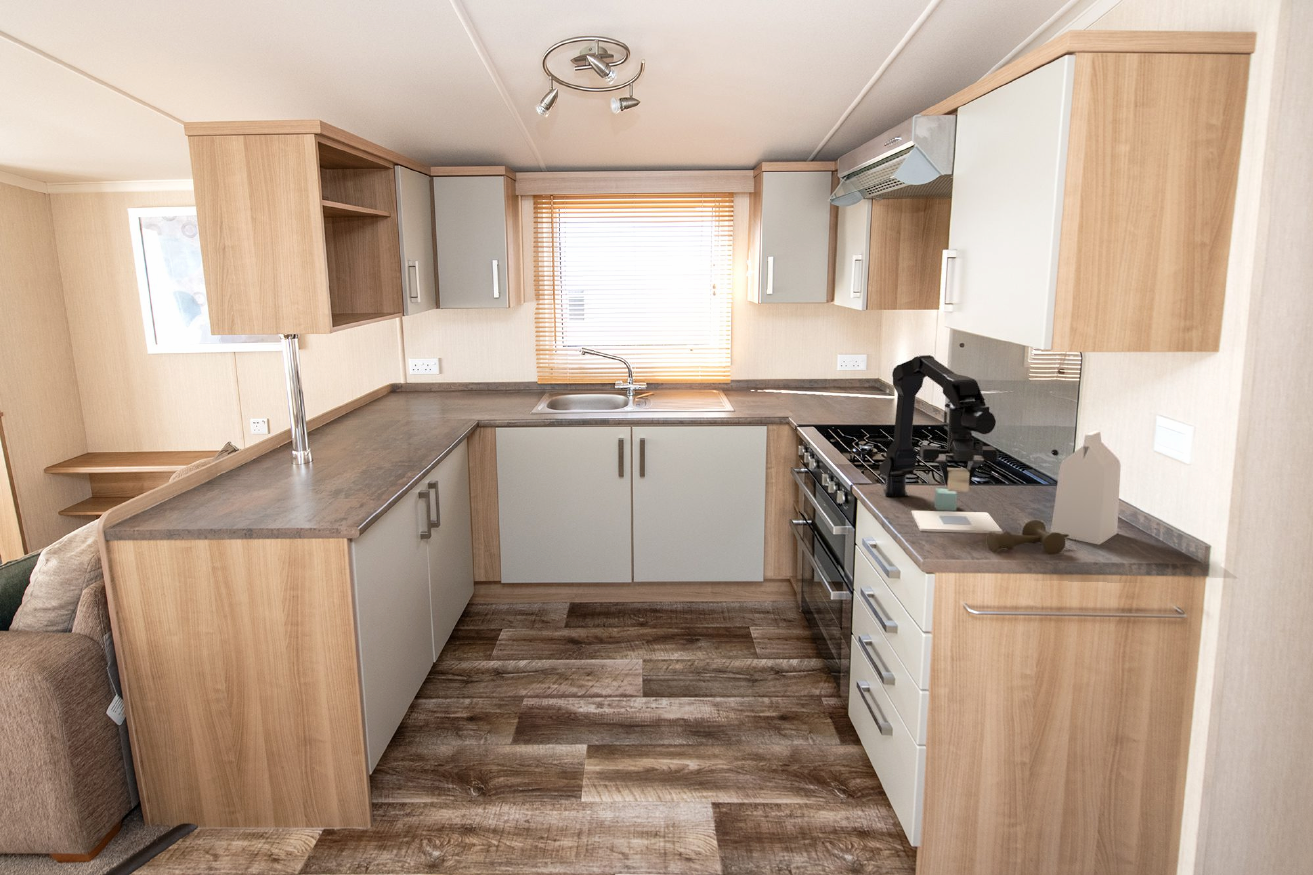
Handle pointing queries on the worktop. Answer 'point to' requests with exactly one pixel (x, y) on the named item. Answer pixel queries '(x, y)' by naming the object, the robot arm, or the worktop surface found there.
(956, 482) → the birch block
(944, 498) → the teal block
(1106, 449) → the milk
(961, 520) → the baseplate
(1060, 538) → the kendama
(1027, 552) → the worktop surface
